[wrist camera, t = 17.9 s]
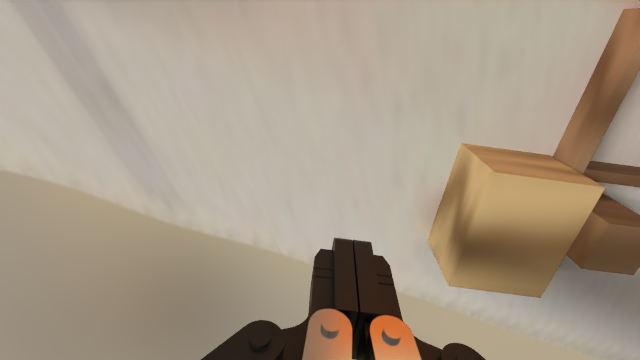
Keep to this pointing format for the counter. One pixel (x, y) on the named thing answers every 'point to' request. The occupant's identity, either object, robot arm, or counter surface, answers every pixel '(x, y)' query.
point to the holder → (604, 106)
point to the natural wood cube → (509, 219)
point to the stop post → (608, 239)
